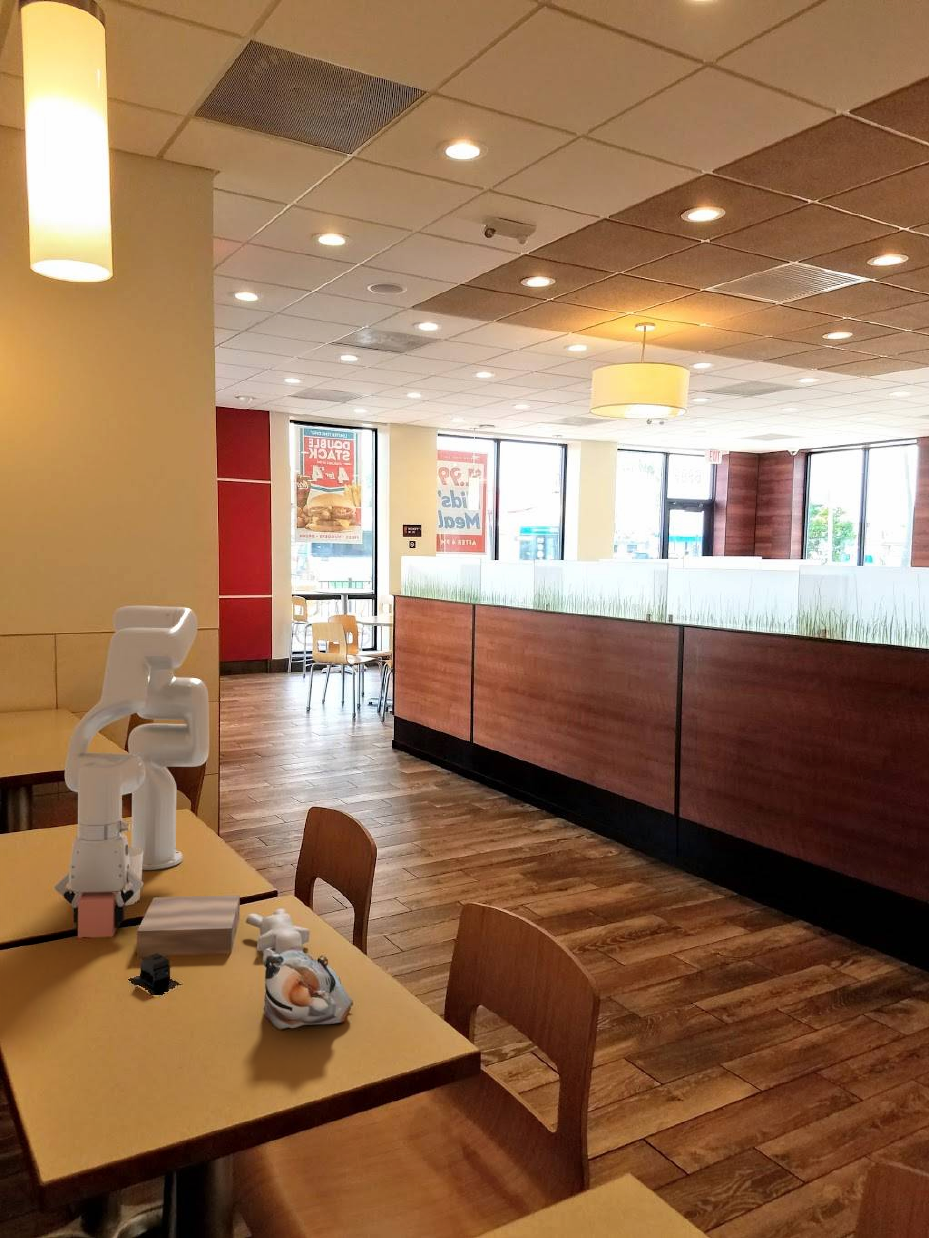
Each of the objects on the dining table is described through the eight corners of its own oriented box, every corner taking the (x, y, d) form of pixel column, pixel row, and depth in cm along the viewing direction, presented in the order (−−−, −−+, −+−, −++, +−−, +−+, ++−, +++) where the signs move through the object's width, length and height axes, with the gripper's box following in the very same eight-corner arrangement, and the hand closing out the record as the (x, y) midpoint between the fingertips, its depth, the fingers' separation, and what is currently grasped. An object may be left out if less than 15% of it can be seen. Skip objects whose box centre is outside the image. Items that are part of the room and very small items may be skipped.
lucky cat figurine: (369, 1014, 143) (362, 956, 135) (309, 1069, 135) (298, 1011, 128) (307, 960, 151) (297, 902, 144) (247, 1009, 144) (233, 951, 136)
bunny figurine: (266, 944, 158) (241, 905, 171) (265, 972, 159) (239, 931, 172) (318, 935, 163) (290, 897, 176) (316, 961, 164) (288, 922, 176)
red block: (86, 924, 174) (86, 888, 173) (119, 923, 175) (119, 887, 174) (77, 937, 168) (78, 900, 167) (112, 936, 169) (112, 899, 168)
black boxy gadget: (195, 991, 150) (195, 963, 150) (154, 1006, 144) (154, 977, 144) (154, 967, 158) (154, 941, 158) (114, 981, 153) (114, 954, 152)
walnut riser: (153, 922, 177) (153, 897, 176) (239, 920, 179) (239, 895, 179) (136, 958, 161) (137, 930, 161) (231, 955, 163) (231, 928, 163)
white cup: (149, 895, 190) (149, 847, 189) (131, 909, 182) (132, 859, 181) (112, 892, 190) (113, 844, 190) (93, 906, 183) (93, 857, 182)
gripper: (152, 823, 175) (151, 916, 176) (56, 824, 172) (55, 919, 173) (144, 835, 168) (143, 932, 169) (44, 836, 165) (43, 935, 166)
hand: (99, 924), depth 171 cm, fingers closed on red block, 6 cm apart
